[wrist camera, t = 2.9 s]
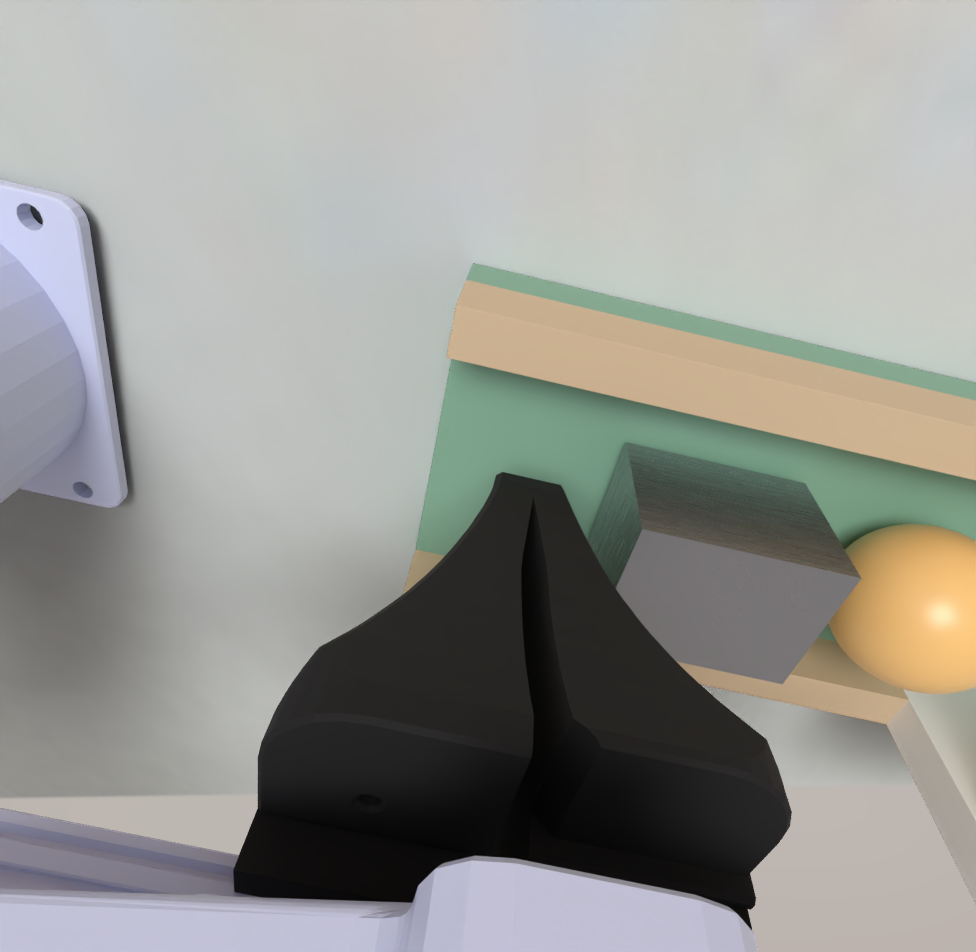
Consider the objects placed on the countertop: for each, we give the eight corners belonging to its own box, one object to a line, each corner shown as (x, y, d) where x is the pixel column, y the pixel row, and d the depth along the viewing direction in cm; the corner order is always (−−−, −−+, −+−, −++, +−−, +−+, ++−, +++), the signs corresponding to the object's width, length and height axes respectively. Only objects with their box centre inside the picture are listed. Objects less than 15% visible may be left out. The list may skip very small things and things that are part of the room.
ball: (776, 589, 16) (826, 710, 13) (849, 476, 14) (929, 587, 11) (909, 619, 16) (989, 745, 13) (1001, 510, 14) (1120, 631, 11)
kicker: (585, 546, 15) (591, 643, 13) (626, 442, 13) (641, 529, 11) (745, 582, 15) (782, 684, 13) (805, 482, 14) (861, 578, 11)
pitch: (418, 548, 18) (347, 800, 12) (473, 263, 13) (404, 432, 7) (993, 674, 18) (1206, 974, 12) (1229, 443, 14) (1749, 737, 8)
